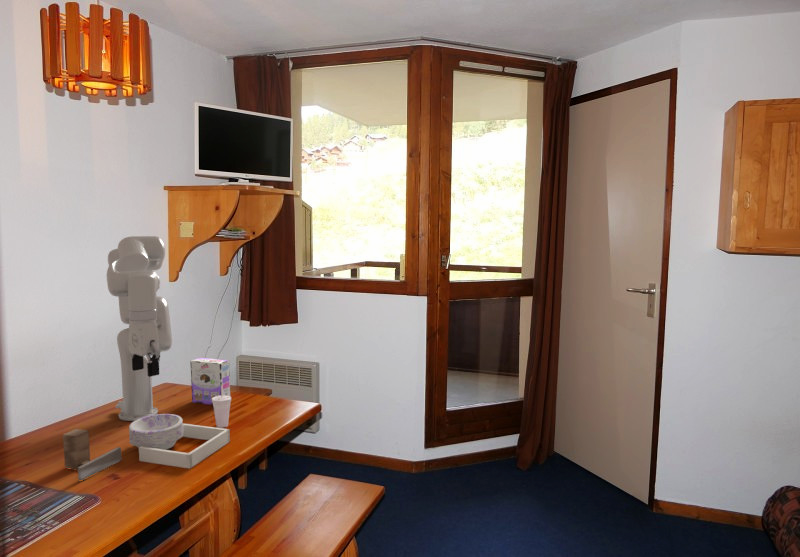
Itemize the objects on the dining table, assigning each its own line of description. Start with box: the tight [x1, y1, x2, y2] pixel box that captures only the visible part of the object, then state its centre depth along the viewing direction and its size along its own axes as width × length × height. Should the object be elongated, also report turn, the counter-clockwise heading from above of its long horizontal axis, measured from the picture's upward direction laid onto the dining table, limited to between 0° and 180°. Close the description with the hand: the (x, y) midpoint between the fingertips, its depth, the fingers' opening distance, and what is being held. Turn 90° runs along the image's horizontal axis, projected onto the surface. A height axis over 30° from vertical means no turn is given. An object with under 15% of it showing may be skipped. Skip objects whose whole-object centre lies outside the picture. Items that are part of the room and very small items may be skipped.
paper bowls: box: [128, 413, 184, 450], centre depth 173 cm, size 15×15×8 cm
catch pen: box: [138, 423, 231, 470], centre depth 170 cm, size 17×20×4 cm
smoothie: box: [212, 385, 232, 429], centre depth 190 cm, size 6×6×14 cm
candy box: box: [189, 357, 231, 406], centre depth 214 cm, size 14×6×16 cm, turn 71°
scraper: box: [62, 428, 122, 481], centre depth 158 cm, size 11×14×10 cm
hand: (145, 372), depth 167 cm, fingers open, 9 cm apart
